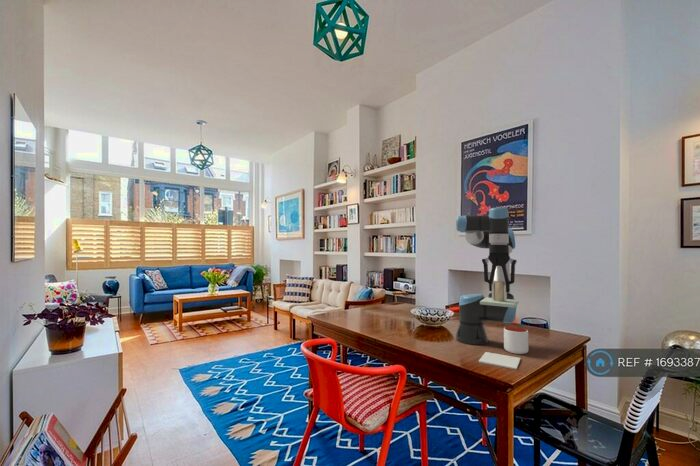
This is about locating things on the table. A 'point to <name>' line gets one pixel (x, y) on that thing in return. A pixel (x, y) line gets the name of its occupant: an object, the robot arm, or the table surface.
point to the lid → (499, 297)
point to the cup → (516, 340)
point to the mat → (500, 360)
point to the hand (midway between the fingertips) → (499, 299)
